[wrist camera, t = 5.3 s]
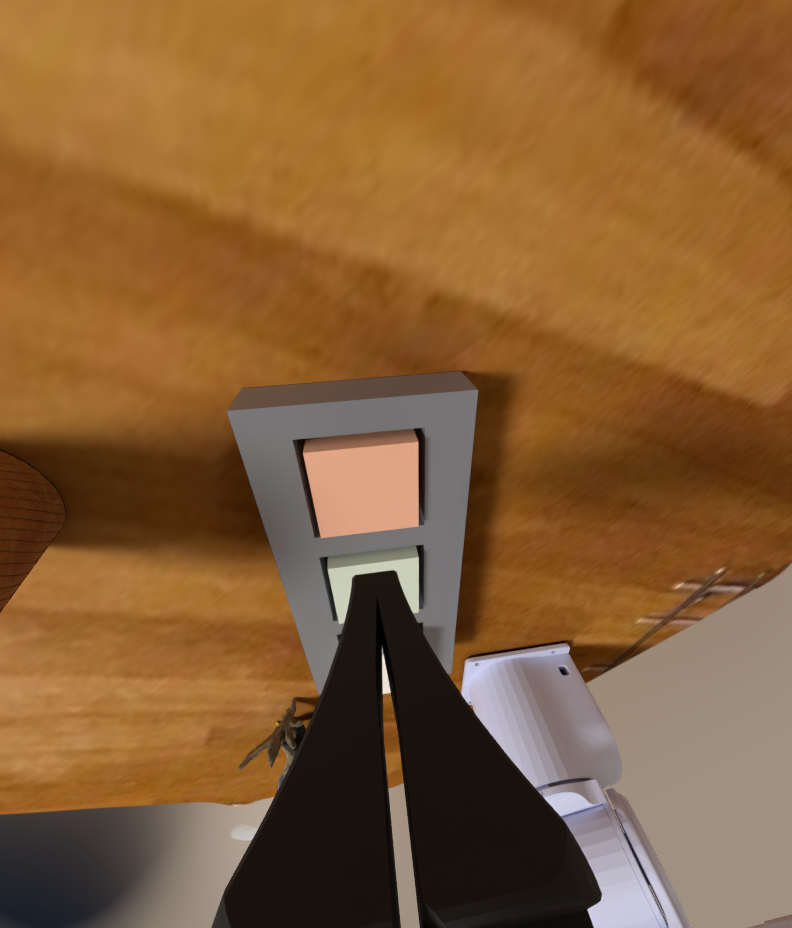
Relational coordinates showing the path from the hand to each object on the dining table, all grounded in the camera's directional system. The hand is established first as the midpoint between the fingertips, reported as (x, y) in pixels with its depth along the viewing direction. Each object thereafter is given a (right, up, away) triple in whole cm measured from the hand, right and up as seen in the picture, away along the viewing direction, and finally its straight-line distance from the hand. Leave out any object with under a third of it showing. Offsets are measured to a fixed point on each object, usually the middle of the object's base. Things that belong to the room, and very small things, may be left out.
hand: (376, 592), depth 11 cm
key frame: (-1, -1, +11) cm, 11 cm away
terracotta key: (-1, +4, +7) cm, 8 cm away
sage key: (-1, -2, +10) cm, 11 cm away
